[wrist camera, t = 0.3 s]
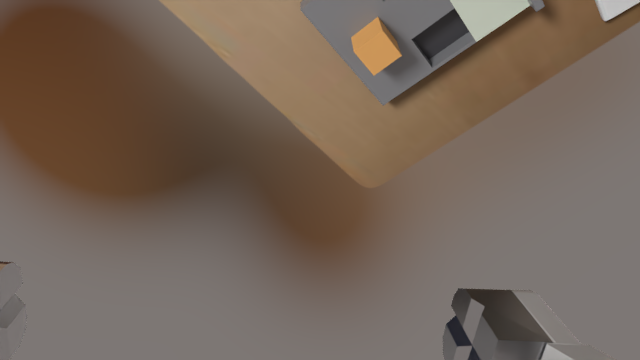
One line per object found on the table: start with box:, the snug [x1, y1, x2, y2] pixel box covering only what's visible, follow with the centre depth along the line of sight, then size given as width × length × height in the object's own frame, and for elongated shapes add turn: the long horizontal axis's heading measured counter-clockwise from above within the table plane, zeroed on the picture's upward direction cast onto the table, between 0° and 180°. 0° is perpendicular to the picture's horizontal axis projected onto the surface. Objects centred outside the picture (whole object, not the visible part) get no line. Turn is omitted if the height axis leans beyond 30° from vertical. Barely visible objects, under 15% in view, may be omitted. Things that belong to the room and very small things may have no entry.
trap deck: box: [301, 0, 545, 105], centre depth 55 cm, size 22×17×4 cm
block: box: [351, 17, 402, 75], centre depth 56 cm, size 4×4×4 cm
